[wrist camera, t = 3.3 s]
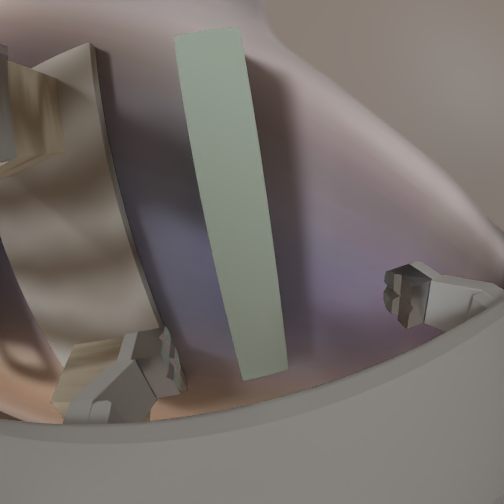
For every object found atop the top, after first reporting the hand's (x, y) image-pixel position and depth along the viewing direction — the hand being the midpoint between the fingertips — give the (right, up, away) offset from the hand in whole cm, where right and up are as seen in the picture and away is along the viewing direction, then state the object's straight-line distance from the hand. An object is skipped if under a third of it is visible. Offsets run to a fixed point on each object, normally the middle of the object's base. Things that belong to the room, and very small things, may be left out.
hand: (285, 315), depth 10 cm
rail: (-3, +5, +13) cm, 14 cm away
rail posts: (-16, +2, +11) cm, 20 cm away
